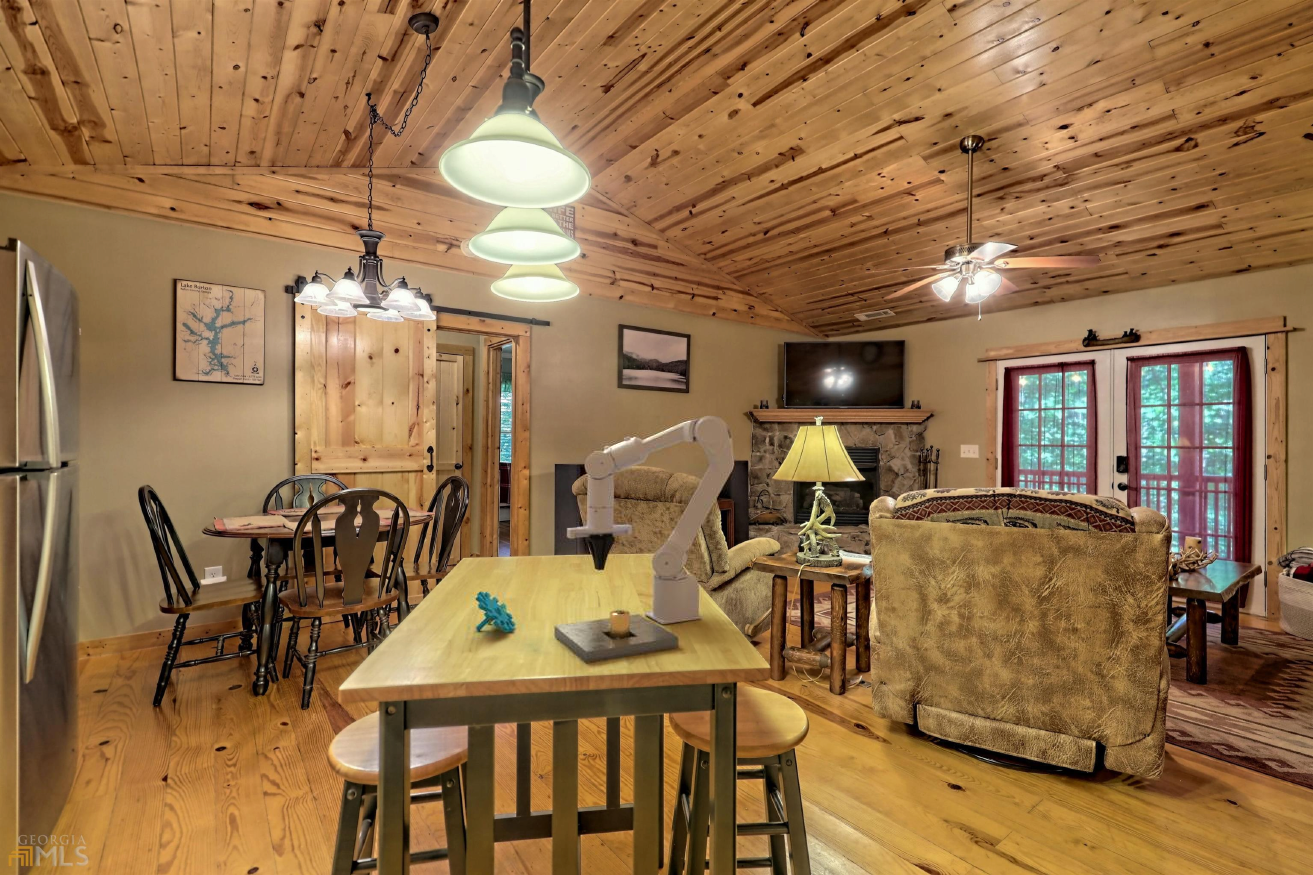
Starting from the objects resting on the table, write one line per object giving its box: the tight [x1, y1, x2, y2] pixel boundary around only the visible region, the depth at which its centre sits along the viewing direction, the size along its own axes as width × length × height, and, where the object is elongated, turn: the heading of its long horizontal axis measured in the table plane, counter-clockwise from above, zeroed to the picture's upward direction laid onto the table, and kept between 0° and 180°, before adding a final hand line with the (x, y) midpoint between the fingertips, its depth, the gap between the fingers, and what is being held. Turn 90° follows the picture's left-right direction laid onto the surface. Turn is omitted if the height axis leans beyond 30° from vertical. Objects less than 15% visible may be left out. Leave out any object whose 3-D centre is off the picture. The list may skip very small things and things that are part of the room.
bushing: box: [609, 609, 631, 640], centre depth 117 cm, size 4×4×6 cm
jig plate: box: [553, 614, 679, 664], centre depth 118 cm, size 18×16×2 cm
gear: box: [475, 591, 516, 633], centre depth 124 cm, size 11×6×10 cm
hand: (599, 569), depth 137 cm, fingers closed
